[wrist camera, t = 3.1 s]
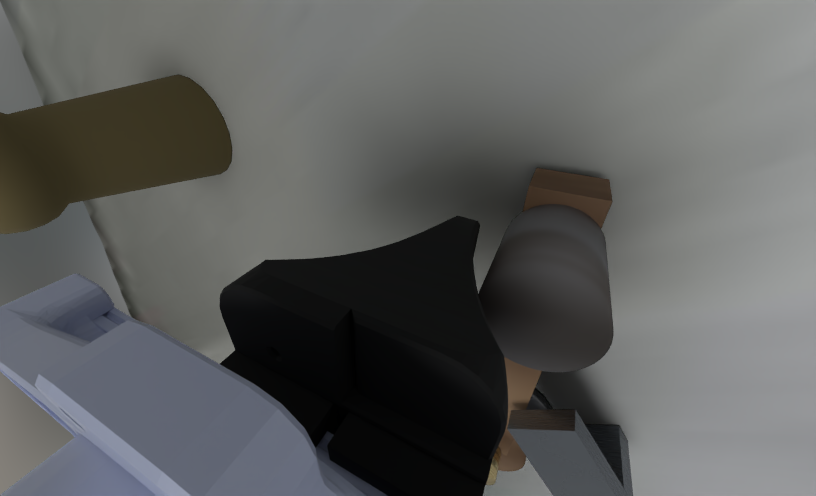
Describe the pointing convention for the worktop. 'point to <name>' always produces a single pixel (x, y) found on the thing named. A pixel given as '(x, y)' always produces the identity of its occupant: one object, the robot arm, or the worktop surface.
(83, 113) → the cork
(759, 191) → the worktop surface
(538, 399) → the pintle base
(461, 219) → the robot arm
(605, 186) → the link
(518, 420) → the keeper
